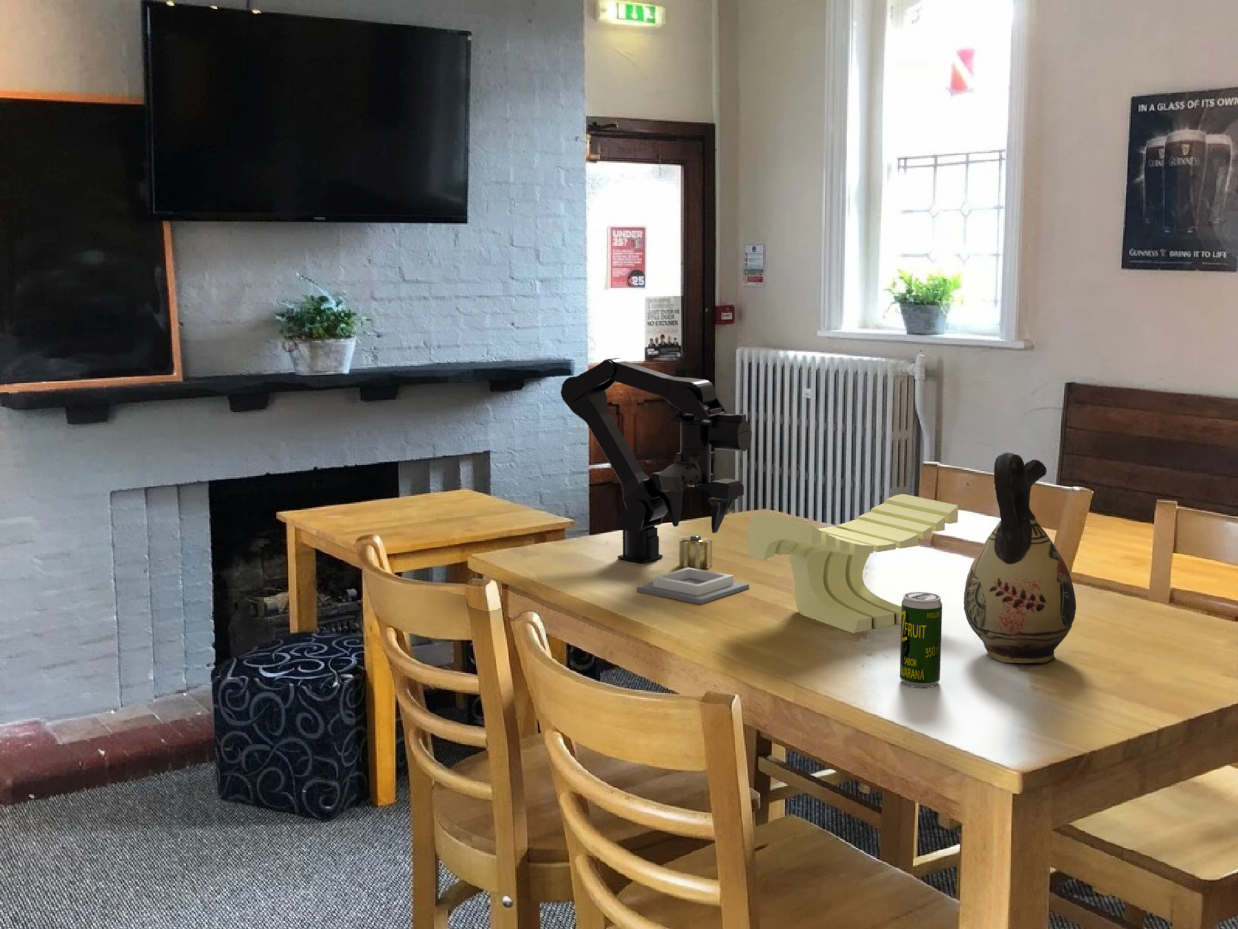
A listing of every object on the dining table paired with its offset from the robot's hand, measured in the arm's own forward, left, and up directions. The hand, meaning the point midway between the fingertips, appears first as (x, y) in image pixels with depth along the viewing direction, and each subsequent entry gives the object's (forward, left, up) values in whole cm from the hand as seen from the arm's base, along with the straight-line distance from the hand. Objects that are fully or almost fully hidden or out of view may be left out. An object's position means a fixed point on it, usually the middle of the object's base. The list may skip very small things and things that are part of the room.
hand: (694, 529), depth 246 cm
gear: (0, 0, -7) cm, 7 cm away
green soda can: (+66, -36, -7) cm, 76 cm away
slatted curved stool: (+41, -12, -7) cm, 43 cm away
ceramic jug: (+71, -17, -7) cm, 74 cm away
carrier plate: (+11, -15, -7) cm, 20 cm away
